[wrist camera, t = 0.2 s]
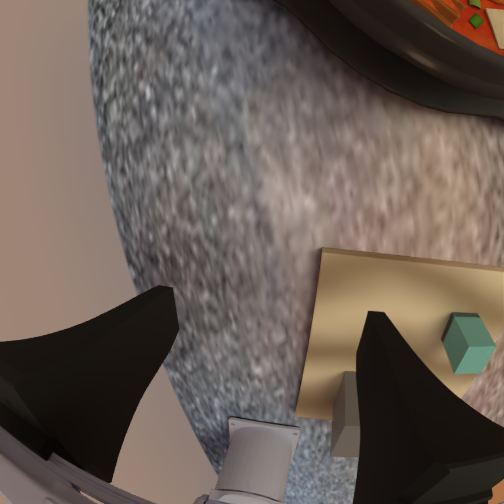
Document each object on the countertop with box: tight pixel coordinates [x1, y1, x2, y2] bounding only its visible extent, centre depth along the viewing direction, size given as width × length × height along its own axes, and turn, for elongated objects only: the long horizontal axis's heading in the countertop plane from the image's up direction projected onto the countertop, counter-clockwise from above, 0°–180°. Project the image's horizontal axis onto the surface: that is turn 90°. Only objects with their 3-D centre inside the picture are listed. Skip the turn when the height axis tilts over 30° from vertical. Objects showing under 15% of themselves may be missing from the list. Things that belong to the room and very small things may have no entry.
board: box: [295, 247, 504, 420], centre depth 22 cm, size 18×17×1 cm
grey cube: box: [330, 371, 360, 457], centre depth 21 cm, size 5×5×6 cm
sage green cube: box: [441, 312, 496, 374], centre depth 17 cm, size 3×3×4 cm
